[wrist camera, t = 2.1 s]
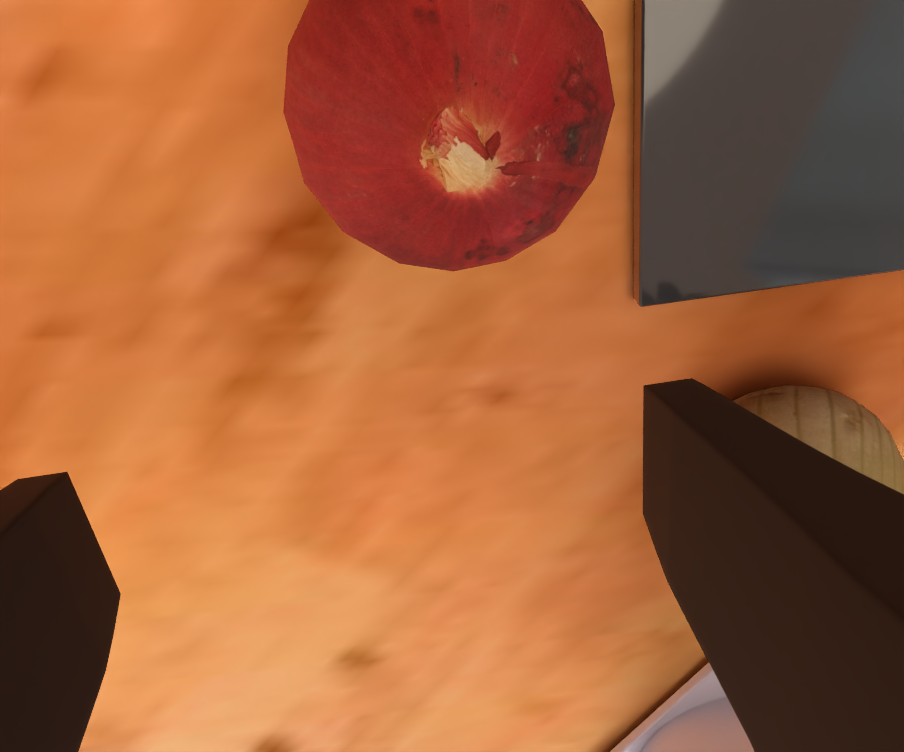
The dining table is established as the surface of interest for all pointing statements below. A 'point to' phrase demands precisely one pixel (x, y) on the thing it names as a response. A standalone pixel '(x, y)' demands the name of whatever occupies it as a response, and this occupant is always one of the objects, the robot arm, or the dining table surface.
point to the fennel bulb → (832, 428)
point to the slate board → (766, 144)
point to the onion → (448, 121)
